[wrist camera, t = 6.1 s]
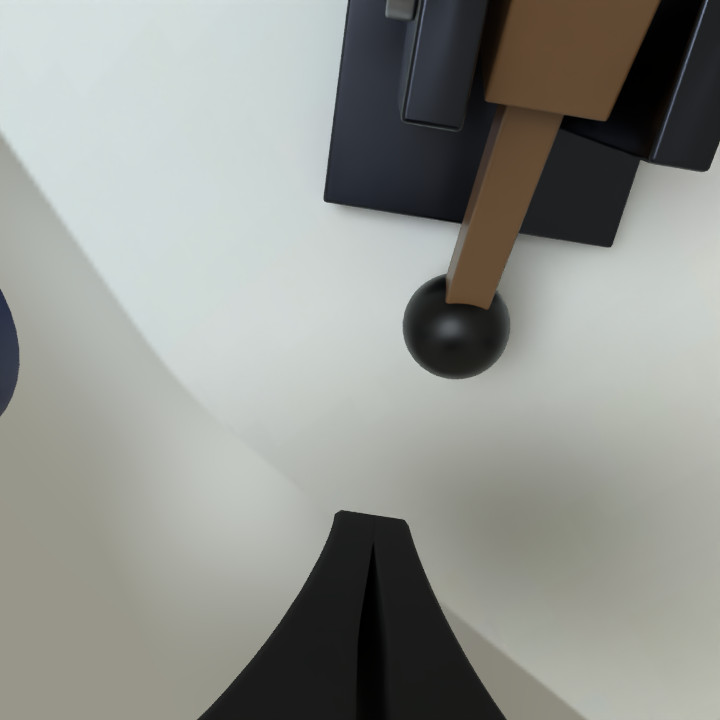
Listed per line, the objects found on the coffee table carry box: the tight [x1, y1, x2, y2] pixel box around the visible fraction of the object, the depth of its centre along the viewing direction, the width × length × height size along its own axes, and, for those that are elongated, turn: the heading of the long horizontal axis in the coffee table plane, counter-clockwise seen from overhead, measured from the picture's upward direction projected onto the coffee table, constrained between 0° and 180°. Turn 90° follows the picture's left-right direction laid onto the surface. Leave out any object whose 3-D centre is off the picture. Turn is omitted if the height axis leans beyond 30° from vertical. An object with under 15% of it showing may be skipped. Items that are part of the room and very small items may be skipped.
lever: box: [403, 0, 661, 379], centre depth 14 cm, size 11×3×3 cm, turn 172°
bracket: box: [324, 0, 720, 248], centre depth 13 cm, size 10×8×8 cm
